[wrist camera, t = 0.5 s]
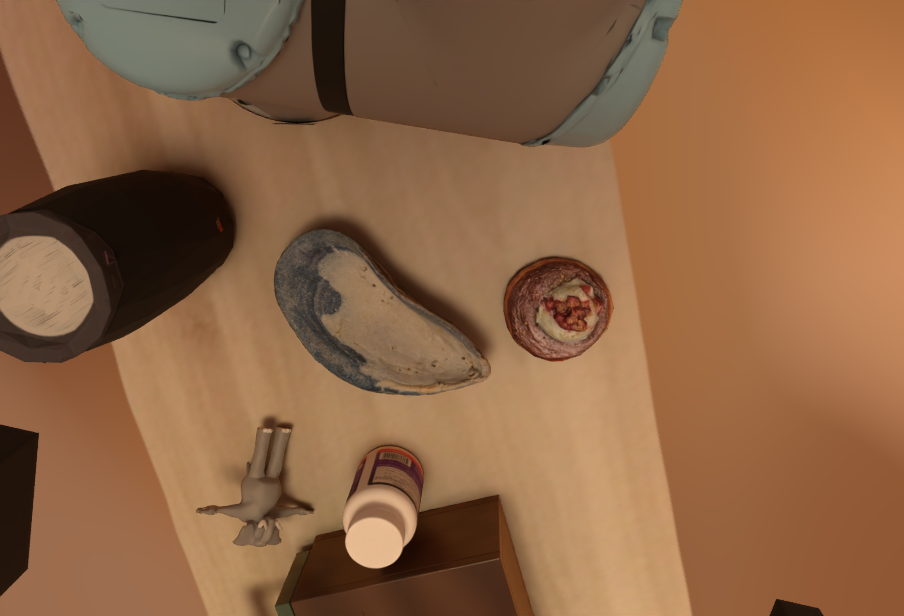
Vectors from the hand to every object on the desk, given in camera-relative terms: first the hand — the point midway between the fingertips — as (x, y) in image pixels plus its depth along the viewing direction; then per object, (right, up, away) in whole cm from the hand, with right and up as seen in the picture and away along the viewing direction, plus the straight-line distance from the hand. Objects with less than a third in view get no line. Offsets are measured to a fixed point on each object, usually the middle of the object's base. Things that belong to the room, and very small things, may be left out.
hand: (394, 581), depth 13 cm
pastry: (+9, +5, +43) cm, 44 cm away
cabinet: (-1, -18, +50) cm, 53 cm away
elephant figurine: (-14, -8, +48) cm, 51 cm away
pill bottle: (-4, -9, +48) cm, 49 cm away
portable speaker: (-19, +11, +43) cm, 48 cm away
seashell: (-4, +5, +44) cm, 44 cm away
